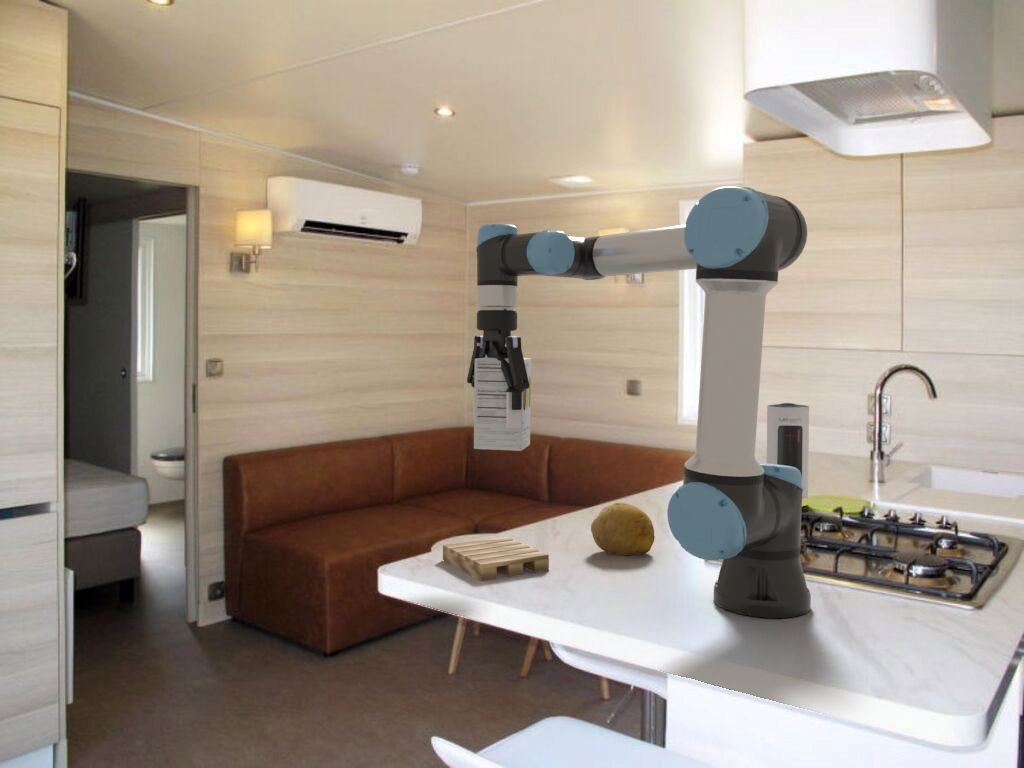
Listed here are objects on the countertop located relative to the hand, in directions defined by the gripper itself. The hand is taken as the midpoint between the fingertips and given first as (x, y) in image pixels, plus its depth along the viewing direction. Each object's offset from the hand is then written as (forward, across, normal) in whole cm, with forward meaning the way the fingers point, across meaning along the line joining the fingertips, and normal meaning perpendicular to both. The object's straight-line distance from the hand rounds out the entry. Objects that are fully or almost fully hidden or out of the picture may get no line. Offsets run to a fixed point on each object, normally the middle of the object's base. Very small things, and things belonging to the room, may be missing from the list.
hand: (496, 424), depth 160 cm
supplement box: (+5, 0, -1) cm, 5 cm away
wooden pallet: (+27, 0, 0) cm, 27 cm away
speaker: (+27, +15, -94) cm, 99 cm away
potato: (+27, -4, -27) cm, 38 cm away
